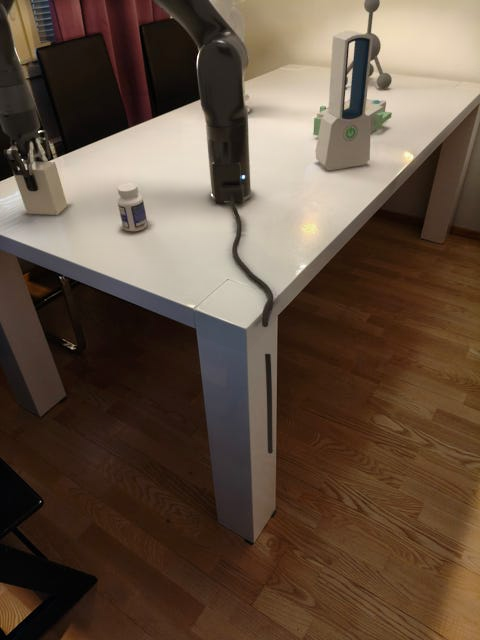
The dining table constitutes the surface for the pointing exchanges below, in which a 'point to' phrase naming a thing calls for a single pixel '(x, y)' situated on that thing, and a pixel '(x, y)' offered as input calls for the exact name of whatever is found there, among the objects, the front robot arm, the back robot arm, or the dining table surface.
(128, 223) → the pill bottle
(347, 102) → the decorative block
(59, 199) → the brick
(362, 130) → the electronic device
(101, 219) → the dining table surface
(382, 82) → the molecular model
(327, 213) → the dining table surface
